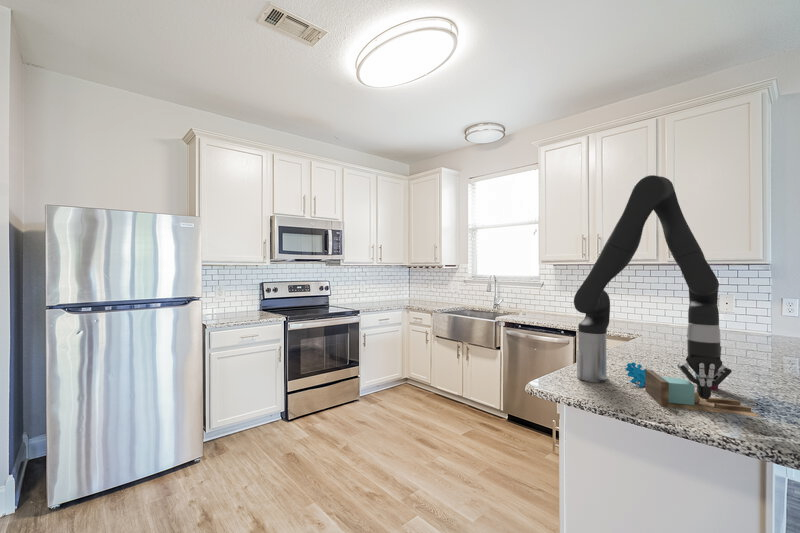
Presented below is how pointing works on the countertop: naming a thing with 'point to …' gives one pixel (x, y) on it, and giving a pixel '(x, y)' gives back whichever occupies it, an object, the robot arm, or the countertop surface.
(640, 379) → the gear
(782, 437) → the countertop surface
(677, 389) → the block
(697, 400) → the dowel
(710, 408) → the board
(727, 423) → the countertop surface
